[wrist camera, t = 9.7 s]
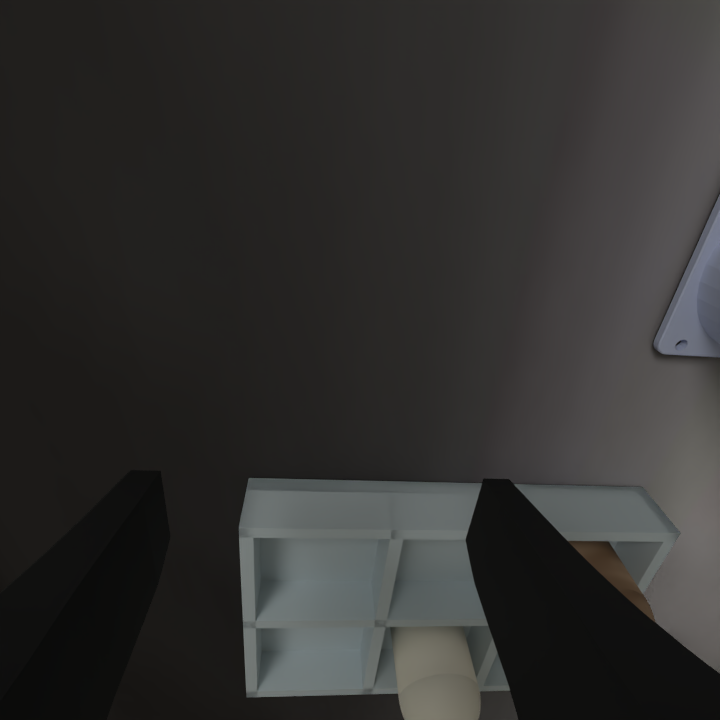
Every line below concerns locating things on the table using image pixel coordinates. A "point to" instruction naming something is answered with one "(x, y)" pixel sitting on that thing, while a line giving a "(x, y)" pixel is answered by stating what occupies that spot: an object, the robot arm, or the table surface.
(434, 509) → the egg carton
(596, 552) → the walnut egg
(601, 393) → the table surface
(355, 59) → the table surface
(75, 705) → the robot arm
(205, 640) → the table surface
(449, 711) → the cream egg
